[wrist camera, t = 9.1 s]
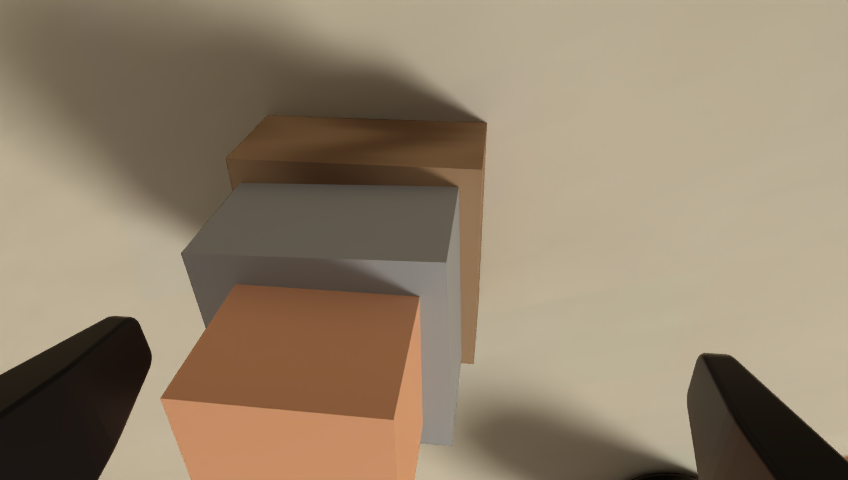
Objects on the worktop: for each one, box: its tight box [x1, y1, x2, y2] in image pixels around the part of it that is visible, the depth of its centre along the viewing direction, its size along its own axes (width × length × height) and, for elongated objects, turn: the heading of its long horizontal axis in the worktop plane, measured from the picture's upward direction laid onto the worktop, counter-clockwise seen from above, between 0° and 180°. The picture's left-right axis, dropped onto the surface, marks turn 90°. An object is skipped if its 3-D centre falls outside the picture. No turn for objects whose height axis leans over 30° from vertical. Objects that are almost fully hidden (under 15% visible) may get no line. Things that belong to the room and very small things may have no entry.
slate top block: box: [181, 183, 462, 446], centre depth 18 cm, size 7×7×4 cm
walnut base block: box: [226, 115, 487, 364], centre depth 22 cm, size 8×8×4 cm
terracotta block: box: [160, 284, 423, 480], centre depth 15 cm, size 5×5×4 cm
